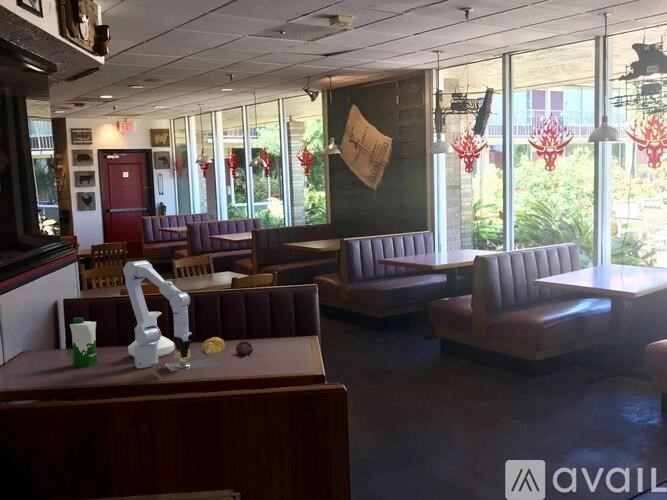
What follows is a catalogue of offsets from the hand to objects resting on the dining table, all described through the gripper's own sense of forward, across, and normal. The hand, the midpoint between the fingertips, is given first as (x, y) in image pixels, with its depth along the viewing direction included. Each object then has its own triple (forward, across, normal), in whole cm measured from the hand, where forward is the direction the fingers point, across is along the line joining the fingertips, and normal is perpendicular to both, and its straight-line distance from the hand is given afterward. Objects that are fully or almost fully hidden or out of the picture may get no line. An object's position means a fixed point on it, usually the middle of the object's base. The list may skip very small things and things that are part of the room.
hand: (182, 355), depth 277 cm
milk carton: (+6, +30, +35) cm, 46 cm away
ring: (+1, 0, 0) cm, 1 cm away
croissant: (+6, +26, -20) cm, 33 cm away
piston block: (+5, +1, -4) cm, 7 cm away
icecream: (+6, +9, -29) cm, 31 cm away
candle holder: (+6, +31, +7) cm, 32 cm away
